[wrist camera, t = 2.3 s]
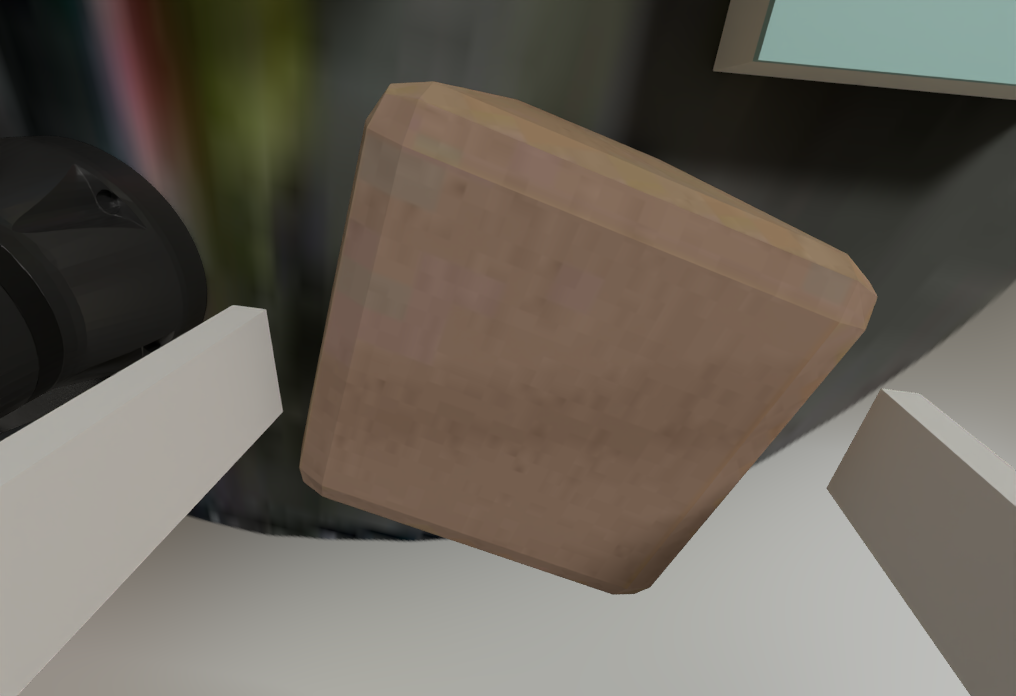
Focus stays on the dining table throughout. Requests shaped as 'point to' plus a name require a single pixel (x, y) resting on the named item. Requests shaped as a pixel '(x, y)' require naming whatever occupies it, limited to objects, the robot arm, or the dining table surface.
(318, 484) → the wooden block
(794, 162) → the dining table surface
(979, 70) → the base brick
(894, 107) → the dining table surface
